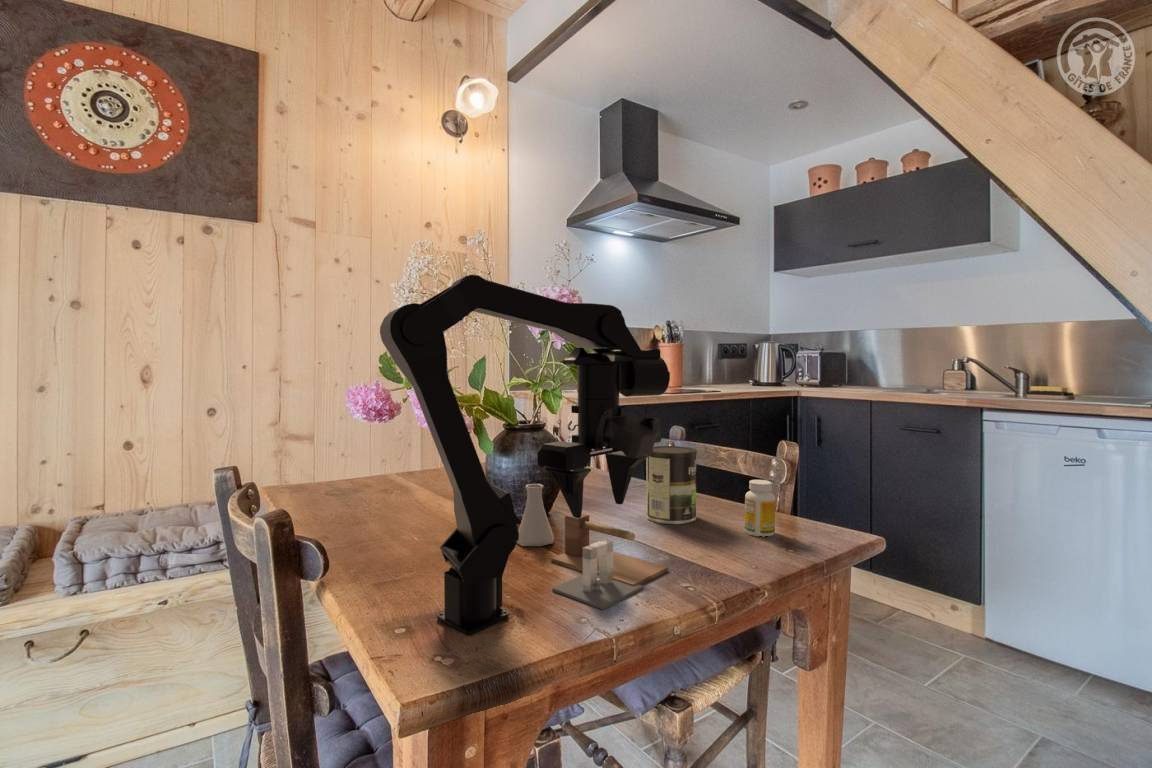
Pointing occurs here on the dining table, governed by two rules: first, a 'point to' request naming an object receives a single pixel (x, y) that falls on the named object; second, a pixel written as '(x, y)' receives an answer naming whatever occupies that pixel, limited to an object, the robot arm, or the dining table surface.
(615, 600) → the slate coaster
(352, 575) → the dining table surface
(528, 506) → the flask
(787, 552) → the dining table surface
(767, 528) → the supplement bottle
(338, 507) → the dining table surface
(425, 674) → the dining table surface
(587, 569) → the slotted rectangular block
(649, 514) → the coffee can
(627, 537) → the link stand
